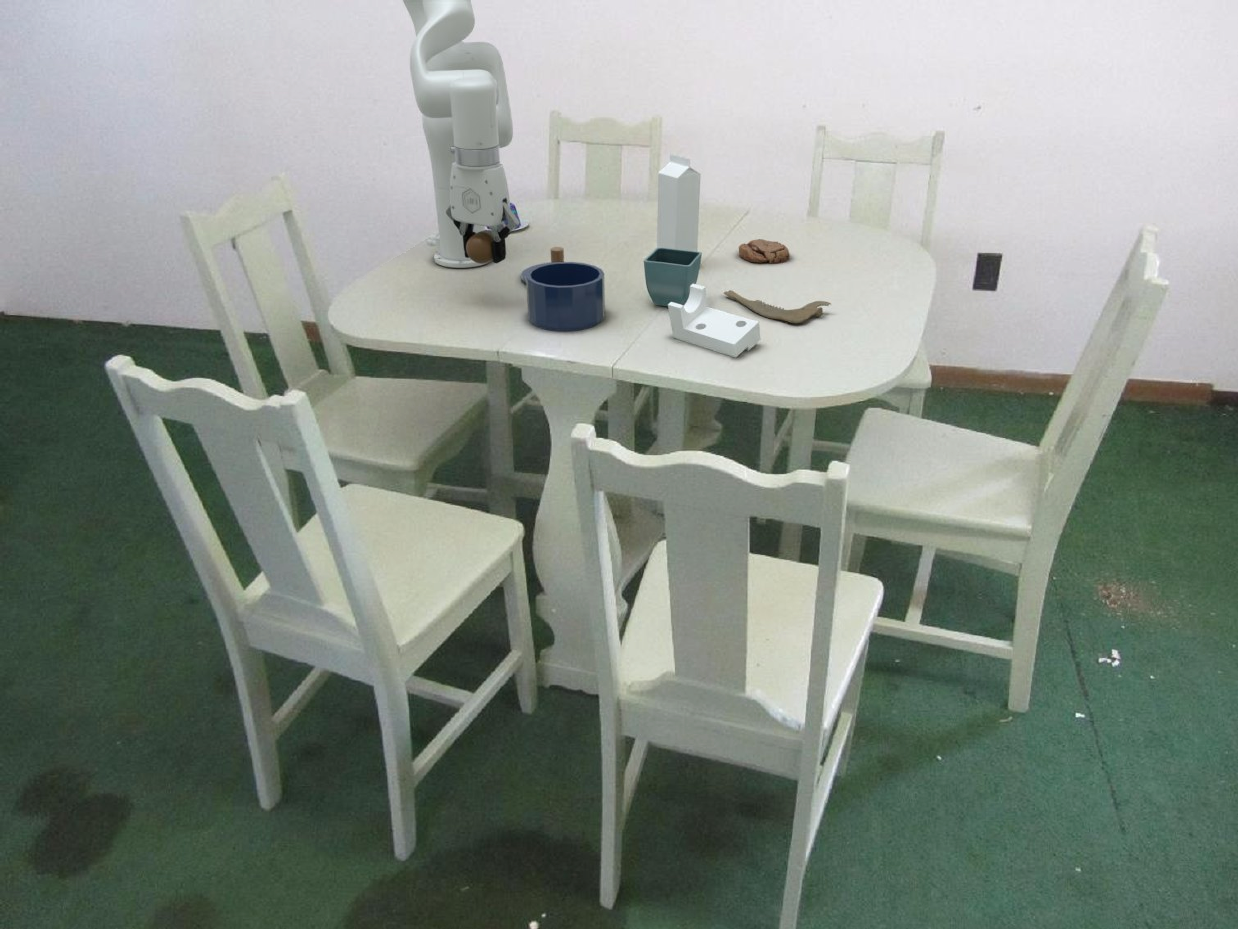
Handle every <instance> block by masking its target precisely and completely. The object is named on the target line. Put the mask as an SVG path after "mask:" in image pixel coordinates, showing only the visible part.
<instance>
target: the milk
mask: <svg viewBox="0 0 1238 929" xmlns="http://www.w3.org/2000/svg"><path fill="white" fill-rule="evenodd" d="M657 182H658V183H657V219H656V220H657V225H656V228H657V229H656V232H657V233H656V248H669V249H678V250H687V251H696V252H698V246H699V245H698V242H699V220H700V198H701V196H700V194H701V173H700V172H698V171H697V170H696V169H694V168H692V167H691V160H690V158H688V157H684V156H680V155H677V154H672V153H670V154H669V162H668V163H666V165H665V166H663V168H662V169H660V170H659V171H658V174H657Z"/></svg>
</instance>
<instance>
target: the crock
mask: <svg viewBox="0 0 1238 929" xmlns="http://www.w3.org/2000/svg"><path fill="white" fill-rule="evenodd" d="M547 263H548V264H544V265H540V266H537V267H534V268H533V269H531V270H529V271H528V272H527V274H526V283H525V287H526V303H527V317H528V320H529V323H531V324H532V325H533V326H535V327H537V328H539V329H542V330H547V331H554V332H576V331H582V330H588V329H591V328H594V327H596V326H599V325H600V324H601V323H602V322H603V321H604V319H605V314H606V300H605V299H606V298H605V297H606V291H605V290H606V288H605V272H604V270H602V268H600V267H598V266H596V265H593V264H590V263H586V262H578V261H564V262H556V263H550V262H547Z"/></svg>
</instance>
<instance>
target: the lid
mask: <svg viewBox="0 0 1238 929" xmlns="http://www.w3.org/2000/svg"><path fill="white" fill-rule="evenodd" d="M549 250H550V261H549V262H543V263H538V264H534V265H531V266H528V267H527V268H525V269H524V270H523V271H521V274H520V276H521V281H522V282H523V283H525V284H526V274H527V272H528V271H529V270H531V269H533V268H534V267H537V266H540V265H544V264H548V263H556V262H565V249H564V247H562V246H553V247H551V248H550V249H549Z"/></svg>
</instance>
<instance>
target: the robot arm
mask: <svg viewBox="0 0 1238 929" xmlns="http://www.w3.org/2000/svg"><path fill="white" fill-rule="evenodd" d="M402 2H403V4H404V7H405V8H406V10H407V12H408V15H409V16H410V19H411V21H412V24H413V27H414V33H415V38H414V41H413V43H412V45H411V48H410V53H409V70H410V77H411V82H412V89H413V92H414V98H415V101H416V106H417V108H418V110H419V111H420V113H421V114H422V116H421V117H422V118H421V119H422V120H421V121H422V129H423V133H424V137H425V140H426V145H427V148H428V154H429V159H430V164H431V172H432V181H433V189H434V200H435V210H436V218H437V219H436V220H437V228H438V234H434V233H431V234H430V235H429V236H428V239H427V240H426V245H427V246H429V247H435V249H436V252H435V253H434V255H433V260H434V262H435V263H436V264H437V265H439V266H442V267H444V268H445V267H446V268H453V269H454V268H455V269H465V268H466V269H467V268H476V267H481V266H483V265H484V266H485V265H488V264H489V263H492V262H493V264H499V263H500V262H502V261H504V260H506V257H507V248H506V239H507V238H508V237H509V236H510V234H511V233H512V232H513V230H514V229H515V228H516V227H517V226H518V225H519V224H520V222H519V220H518V219H517V217H516V216H515V214H514V213H513V212H512V210H511V209H510V203H511V202H510V201H511V200H510V193H509V187H508V181H507V175H506V172H505V167H504V165H503V164H502V163H501V157H500V156H501V155H500V149H503V148H506V147H507V146H509V145H510V144H511V143H512V141H513V137H514V127H513V126H514V124H513V117H512V110H511V104H510V98H509V92H508V84H507V79H506V73H505V72H506V71H505V67H504V63H503V59H502V56H501V53H500V51H499V49H498V48H497V47H496V45H494V44H493V43H490V42H485V41H474V42H473V41H472V42H470V41H469V42H464V40H466V39H467V38H468V37H470V36H469V35H471V33H472V32H473V30H474V28H475V24H476V19H475V14H474V9H473V5H472V1H471V0H402ZM504 221H508V224H507V225H506V226H505V224H504ZM485 226H487V227H490V229H491V232H492V235H493V237H494V241H493V242H492V256H493V260H492V261H490V262H488V263H484V264H479V263H476V262H474V261H472V260H471V259H470V258H469V256H468V254H467V251H466V244H467V241H468V240H469V238H470V237H471V236H473V235H474V234H476V233H478V232H480V231H483V230H485ZM497 226H498V227H497ZM498 228H499V230H498ZM499 231H500V232H499ZM514 231H515V230H514Z"/></svg>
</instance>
